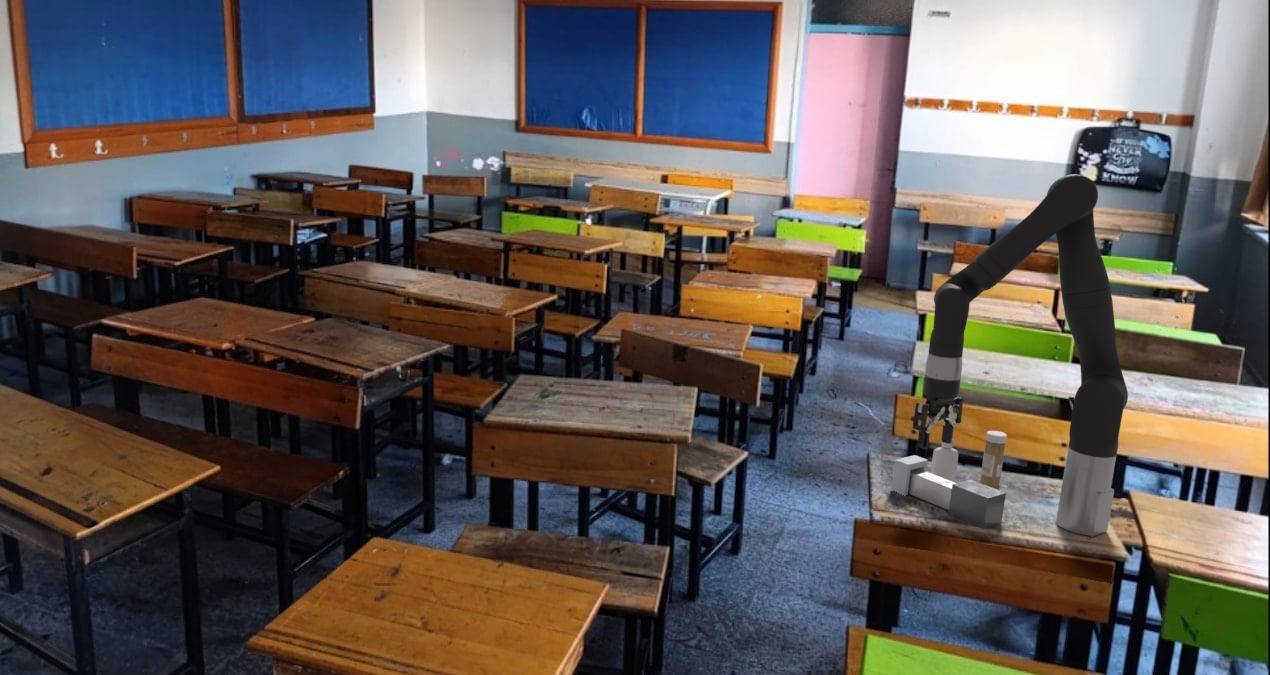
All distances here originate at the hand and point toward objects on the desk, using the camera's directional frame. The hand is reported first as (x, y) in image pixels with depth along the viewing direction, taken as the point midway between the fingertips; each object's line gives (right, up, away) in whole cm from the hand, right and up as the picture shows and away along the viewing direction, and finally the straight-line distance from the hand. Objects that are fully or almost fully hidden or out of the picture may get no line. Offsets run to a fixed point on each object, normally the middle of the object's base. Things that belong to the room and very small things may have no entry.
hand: (934, 445), depth 212 cm
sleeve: (+6, -15, -6) cm, 17 cm away
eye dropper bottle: (+6, -10, +15) cm, 19 cm away
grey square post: (+1, -13, +1) cm, 13 cm away
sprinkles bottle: (+17, -12, +13) cm, 24 cm away
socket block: (-4, -11, +7) cm, 14 cm away
